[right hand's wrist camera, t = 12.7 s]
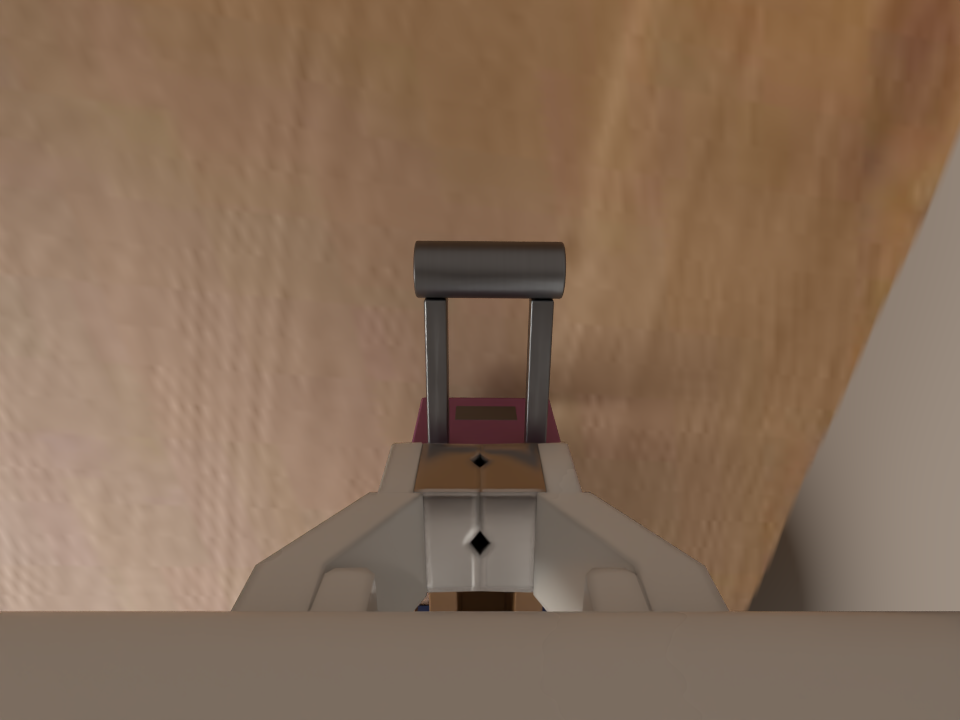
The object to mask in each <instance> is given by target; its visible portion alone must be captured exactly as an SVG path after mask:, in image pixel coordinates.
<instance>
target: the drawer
mask: <svg viewBox="0 0 960 720" xmlns="http://www.w3.org/2000/svg"><path fill="white" fill-rule="evenodd" d="M565 277H566V254H565V247H564V244H563V243H562V242H495V241H416V243H415V248H414V288H415V294H416V296H417V297H418V298H425V300H424V317H425V355H426V393H427V398H422V400H421V404H420V409H419V413H418V418H417V422H416V427H415V431H414V436H413V440H412V443H413V442H422V444H424V443H452V444H506V443H558V442H561V441H560V437H559V434H558V430H557V426H556V423H555V419H554V416H553V412H552V408H551V405H550V401H549V382H550V364H551V345H552V327H553V308H554V301H553V299H560V298H562V296H563V292H564V287H565ZM448 298H529V321H528V347H527V373H526V398H449V354H448ZM542 608H543V606H542V605H541V604H540V602H539V601H538V600H537V599H536V598H535V596H534V595H533V592H496V591H462V592H429V611H542Z"/></svg>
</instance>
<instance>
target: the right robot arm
mask: <svg viewBox="0 0 960 720" xmlns="http://www.w3.org/2000/svg"><path fill="white" fill-rule="evenodd" d="M462 591H496V592H533V595H534V596H535V598H536V599H537V600H538V601H539V602H540V604H541V605H542V606H543V607H544V608H545V610H546V611H414V610H415V609H416V608H417V607H418V605H419V604H420V603H421V602H422V600H423V599H424V598H425V597H426V596H427V592H462ZM0 720H960V611H729V610H728V608H727V606H726V604H725V603H724V601H723V599H722V597H721V595H720V593H719V591H718V589H717V588H716V586H715V584H714V582H713V580H712V578H711V576H710V574H709V573H708V571H707V569H706V567H705V566H704V565H703V564H701V563H699V562H698V561H696V560H695V559H693V558H692V557H690V556H689V555H687V554H685V553H684V552H682V551H681V550H679V549H678V548H676V547H675V546H673V545H671V544H670V543H668V542H667V541H665V540H664V539H662V538H661V537H659V536H657V535H656V534H654V533H653V532H651V531H650V530H648V529H647V528H645V527H643V526H642V525H640V524H639V523H637V522H636V521H634V520H633V519H631V518H629V517H628V516H626V515H625V514H623V513H622V512H620V511H619V510H617V509H615V508H614V507H612V506H611V505H609V504H608V503H606V502H605V501H603V500H601V499H600V498H598V497H597V496H595V495H594V494H592V493H591V492H582V490H581V487H580V483H579V480H578V477H577V473H576V470H575V467H574V463H573V460H572V457H571V453H570V450H569V447H568V444H567V443H565V442H558V443H506V444H452V443H424V444H422V442H413V443H394V444H393V445H392V446H391V449H390V453H389V456H388V460H387V463H386V466H385V470H384V473H383V476H382V480H381V483H380V487H379V490H378V492H369V493H368V494H366V495H365V496H363V497H362V498H360V499H359V500H357V501H355V502H354V503H352V504H351V505H349V506H348V507H346V508H344V509H343V510H341V511H340V512H338V513H337V514H335V515H333V516H332V517H330V518H329V519H327V520H326V521H324V522H323V523H321V524H319V525H318V526H316V527H315V528H313V529H312V530H310V531H308V532H307V533H305V534H304V535H302V536H301V537H299V538H298V539H296V540H294V541H293V542H291V543H290V544H288V545H287V546H285V547H283V548H282V549H280V550H279V551H277V552H276V553H274V554H273V555H271V556H269V557H268V558H266V559H265V560H263V561H262V562H260V563H258V564H257V565H256V566H255V568H254V569H253V571H252V573H251V575H250V577H249V579H248V580H247V582H246V584H245V586H244V588H243V590H242V592H241V593H240V595H239V597H238V599H237V601H236V603H235V605H234V606H233V608H232V610H231V611H0Z"/></svg>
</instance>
